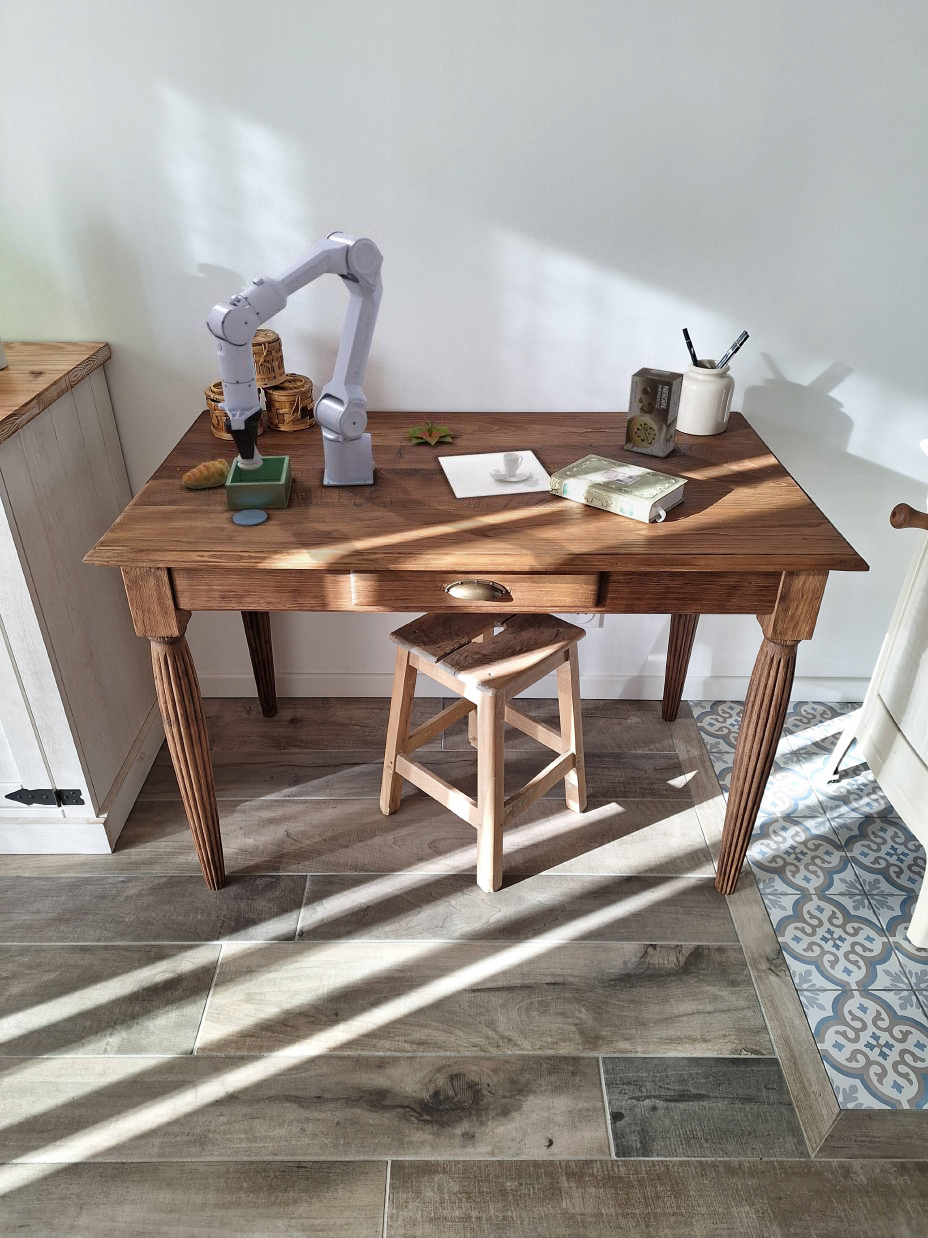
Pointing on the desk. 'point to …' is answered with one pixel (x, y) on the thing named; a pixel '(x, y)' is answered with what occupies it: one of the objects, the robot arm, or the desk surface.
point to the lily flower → (430, 433)
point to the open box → (260, 484)
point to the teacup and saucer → (495, 474)
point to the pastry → (207, 475)
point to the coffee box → (653, 411)
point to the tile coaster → (250, 517)
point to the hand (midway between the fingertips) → (249, 454)
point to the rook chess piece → (250, 461)
